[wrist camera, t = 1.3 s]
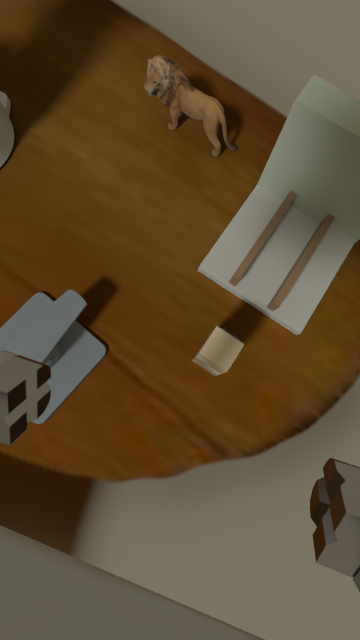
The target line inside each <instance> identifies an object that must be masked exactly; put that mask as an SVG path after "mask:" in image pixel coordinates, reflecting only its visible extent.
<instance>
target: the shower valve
mask: <svg viewBox="0 0 360 640" xmlns="http://www.w3.org/2000/svg"><path fill="white" fill-rule="evenodd" d="M86 306H87V303H86V301H85V300H84V299H83V298H82V297H81V296H80V295H79V294H78V293H76V292H75V291H73V290H71V289H69V290H68V291H67V292H65V293H64V294H63V295H62V296H61V297H59V298H58V299H57V300H56V301H53V300H52V299H50V298H49V297H48V296H47V295H46V294H44V293H40V292H39V293H36V294H35V295H33V296H32V297H31V298H30V299H29V300H28V301H27V302H26V303H25V304H24V305H23V306H22V307H21V308H20V309H19V310H18V311H17V312H16V313H15V314H14V315H13V316H12V317H11V318H10V319H9V320H8V321H7V322H6V323H5V324H4V325H3V326H2V327H1V328H0V351H4V350H6V351H9V352H12V353H15V354H17V355H21V356H24V357H27V358H29V359H32V360H35V361H38V362H41V363H43V364H46V365H48V366H49V367H50V368H51V378H50V379H49V380H48V381H47V383H48V385H49V387H50V389H51V397H50V401H49V404H48V406H47V408H46V409H45V411H44V413H43V414H42V415H41V416H40V417H39V418H38V419H36V420H33V421H32V422H34V423H36V424H41V423H44V422H45V421H47V420H48V418H49V417H50V416H51V415H52V414H53V413H54V412H55V411H56V410H57V409H58V407H59V406H60V405H61V404H62V403H63V402H64V401H65V400H66V399H67V397H68V396H69V395H70V394H71V393H72V392H73V391H74V390H75V389H76V387H77V386H78V385H79V384H80V383H81V382H82V381H83V380H84V379H85V378H86V376H87V375H88V374H89V373H90V372H91V371H92V370H93V369H94V368H95V366H96V365H97V364H98V363H99V362H100V361H101V360H102V359H103V358H104V356H105V355H106V351H107V350H106V347H105V346H104V345H103V344H102V343H101V342H100V341H99V340H98V339H96V338H95V337H94V336H93V335H92V334H91V333H89V332H88V331H87V330H86V329H85V328H84V327H83V326H81V325H80V324H79V323H78V322H77V321H76V319H77V318H78V316H79V315H80V314H81V313H82V311H83V310H84V309H85V307H86Z"/></svg>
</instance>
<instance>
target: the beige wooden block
mask: <svg viewBox="0 0 360 640" xmlns="http://www.w3.org/2000/svg"><path fill="white" fill-rule="evenodd" d="M239 340H240V338H239V337H237V336H236V335H234V334H233V333H231V332H230V331H228V330H227V329H225V328H224V327H223V328H222V329H221V328H219V327H218V326H217V327H216V328H215V329H214V330H213V332H212V333H211V334H210V335H209V337H208V338H207V339H206V341H205V342H204V344H203V345H202V347H201V348H200V350H199V351H198V353H197V354H196V356H195V357H194V359H193V360H192V361H194V362H195V363H197V364H198V365H200V366H201V367H203V368H204V369H206V370H207V371H208V372H210V373H211V374H213V375H214V376H216V375H219V374H222V373H225V372H227V371H228V370H229V368H230V367H231V365H232V363H233V362H234V360H235V359H236V357H237V356H238V354H239V352H240V351H241V349H242V348H243V346H244V344H243V343H242V342H240V341H239Z"/></svg>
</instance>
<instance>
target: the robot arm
mask: <svg viewBox="0 0 360 640" xmlns="http://www.w3.org/2000/svg"><path fill="white" fill-rule="evenodd" d="M10 107H11V103H10V100H9V98H8V97H7V95H6V94H5V93H3V92H1V91H0V167H1V166H2V165H3V164H4V163H5V161H6V160H7V158H8V157H9V155H10V153H11V151H12V148H13V144H14V130H13V126H12V124H11V121H10V117H9V113H10ZM50 378H51V368H50V367H49V366H48V365H46V364H43V363H41V362H38V361H35V360H32V359H29V358H27V357H24V356H21V355H17V354H15V353H12V352H9V351H6V350H4V351H0V442H2V443H5V444H7V445H11V444H12V443H13V442H14V441H15V440H16V439H17V438H18V437H20V436H21V435H22V434H23V433H24V432H25V431H26V430H27V422H30V421H33V420H36V419H38V418H39V417H40V416H41V415H42V414H43V413H44V411H45V409H46V408H47V406H48V404H49V401H50V397H51V389H50V387H49V385H48V383H47V381H48V380H49V379H50ZM323 471H324V477H323V478H321V479H318V480H317V481H316V483H315V485H314V487H313V490H312V494H311V499H310V514H311V519H312V520H313V522H314V523H315V525H316V526H317V528H316V530H315V532H314V534H313V541H314V549H315V558H316V563H319V564H321V565H324V566H326V567H328V568H331V569H333V570H335V571H338V572H340V573H343V574H345V575H348V576H350V577H352V578H354V579H353V581H354V583H355V584H356V586H357V588H358V589H359V591H360V467H357V466H354V465H351V464H348V463H345V462H342V461H339V460H335V459H333V458H330V459H329V460H328V461H327V462H326V464H325V466H324V467H323ZM0 640H264V639H262V638H259V637H257V636H255V635H252V634H250V633H248V632H246V631H243V630H241V629H239V628H236V627H234V626H232V625H230V624H227V623H225V622H223V621H220V620H218V619H216V618H213V617H211V616H209V615H206V614H204V613H202V612H199V611H197V610H195V609H193V608H190V607H188V606H186V605H183V604H181V603H178V602H176V601H174V600H172V599H169V598H167V597H165V596H162V595H160V594H158V593H155V592H153V591H151V590H148V589H146V588H144V587H142V586H139V585H137V584H134V583H132V582H130V581H128V580H125V579H123V578H121V577H118V576H116V575H114V574H111V573H109V572H107V571H105V570H102V569H100V568H98V567H95V566H92V565H91V564H88V563H86V562H83V561H81V560H79V559H77V558H74V557H72V556H70V555H67V554H65V553H63V552H60V551H58V550H56V549H53V548H51V547H49V546H47V545H44V544H42V543H40V542H37V541H35V540H33V539H30V538H28V537H26V536H23V535H21V534H19V533H16V532H14V531H12V530H9V529H7V528H5V527H3V526H0Z"/></svg>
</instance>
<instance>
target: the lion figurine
mask: <svg viewBox="0 0 360 640" xmlns="http://www.w3.org/2000/svg"><path fill="white" fill-rule="evenodd" d="M147 78H148V80H147V82H146V83H145V85H144V87H145V89H146V90H147V91H148V94H149V95H150V96H152V95H153V94H155V96H156V97H159V98H160V99H161V101H162V103H163V104H164V105H166V106H167V107H169V109H170V115H171V119H172V122H170V123H168V128H169V130H174V129H176V127H177V126H178V117H179V116H181V115H182V113H185V114H186V115H188V116H189V117H191V118H194V119H197V120H200V119H202V120H203V123H204V129H205V132H206V135H207V137H208V138H209V140H210V141H211V143H212V144H213V145H214V147H215V149H212V156H214V157H217V156H219V155H220V153H221V143H220V142H219V140H218V138H217V133H219V125H220V124H222V131H223V137H224V141H225V144H226V145H227V147H228V148H229V149H230V150H236V147H235V146H234V145H232V144H230V143H229V142H228V139H227V127H226V121H225V116H224V108H223V106H222V105H221V103H220V102H219V101H218V100H217V99H216V98H213V97H211V96H208V95H206V94H204V93H202V92H201V91H199V90H198V89H197V88H195V87H194V86H192V85H191V84H190V82H189V80H188V78H187V77H186V74H185V73H184V71H183V70H182V69H181V67H179V66H178V65H177V64H176V63H174V62H173V61H172V60H170V59H169V58H166V57H165V56H159V55H157V56H155V57H154V58H152V59H151V60H150V59H148V72H147Z"/></svg>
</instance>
